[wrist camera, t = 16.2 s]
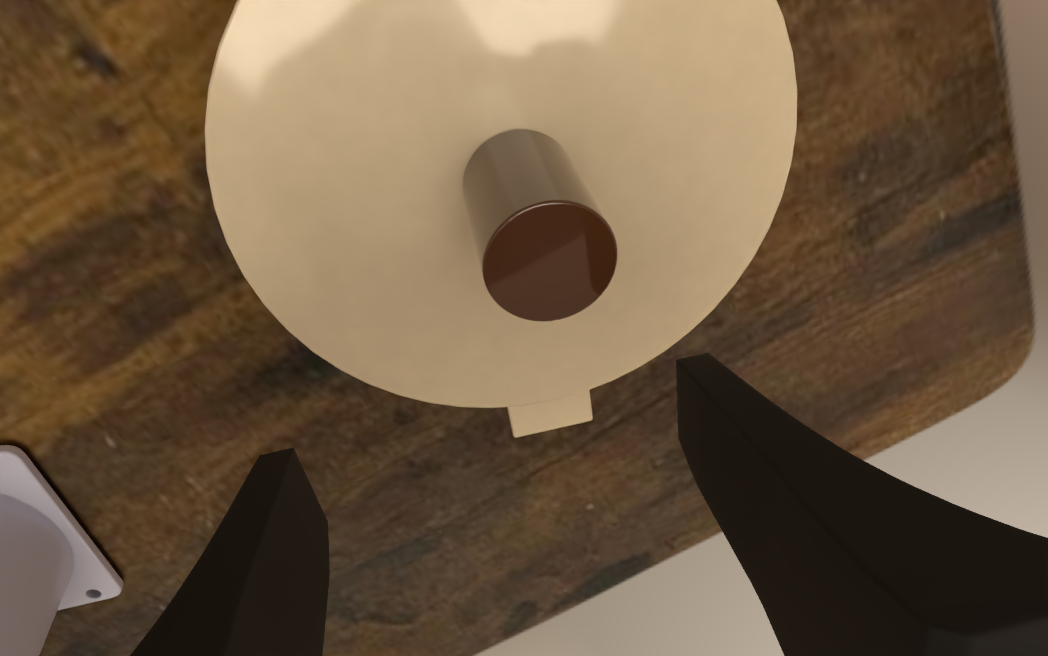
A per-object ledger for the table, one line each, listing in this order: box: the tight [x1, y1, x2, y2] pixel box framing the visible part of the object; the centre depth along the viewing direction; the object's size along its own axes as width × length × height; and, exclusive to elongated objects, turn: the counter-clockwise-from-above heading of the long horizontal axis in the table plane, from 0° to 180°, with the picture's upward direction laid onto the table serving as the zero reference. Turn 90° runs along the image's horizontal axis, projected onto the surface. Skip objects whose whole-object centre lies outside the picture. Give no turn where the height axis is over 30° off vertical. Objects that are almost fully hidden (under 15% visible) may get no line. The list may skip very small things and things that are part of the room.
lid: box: [204, 0, 797, 408], centre depth 15 cm, size 12×12×5 cm
